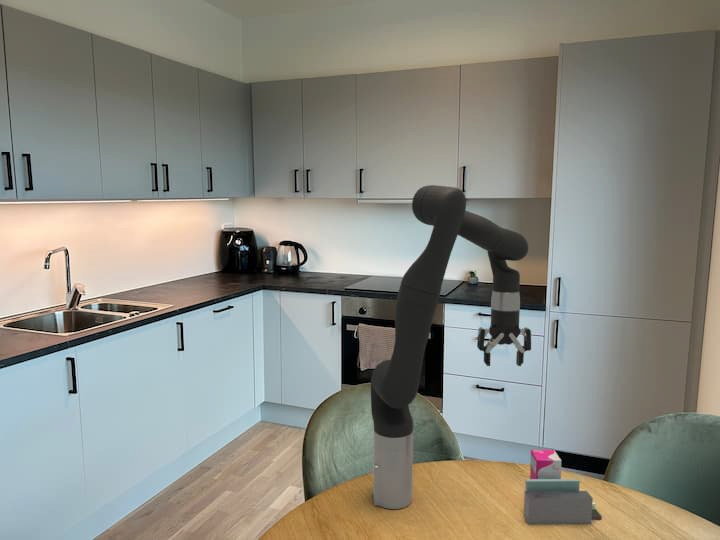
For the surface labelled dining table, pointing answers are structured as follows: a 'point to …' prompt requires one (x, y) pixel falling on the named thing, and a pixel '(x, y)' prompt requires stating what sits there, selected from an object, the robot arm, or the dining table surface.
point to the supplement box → (545, 465)
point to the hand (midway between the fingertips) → (503, 365)
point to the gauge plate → (553, 485)
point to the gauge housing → (559, 507)
